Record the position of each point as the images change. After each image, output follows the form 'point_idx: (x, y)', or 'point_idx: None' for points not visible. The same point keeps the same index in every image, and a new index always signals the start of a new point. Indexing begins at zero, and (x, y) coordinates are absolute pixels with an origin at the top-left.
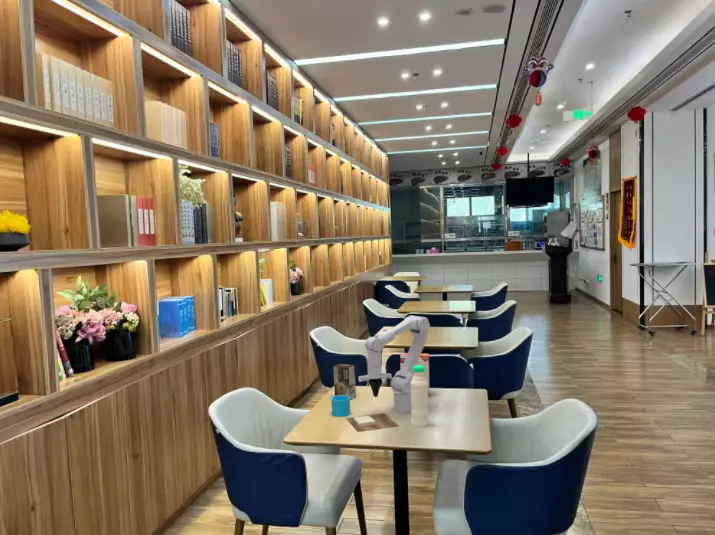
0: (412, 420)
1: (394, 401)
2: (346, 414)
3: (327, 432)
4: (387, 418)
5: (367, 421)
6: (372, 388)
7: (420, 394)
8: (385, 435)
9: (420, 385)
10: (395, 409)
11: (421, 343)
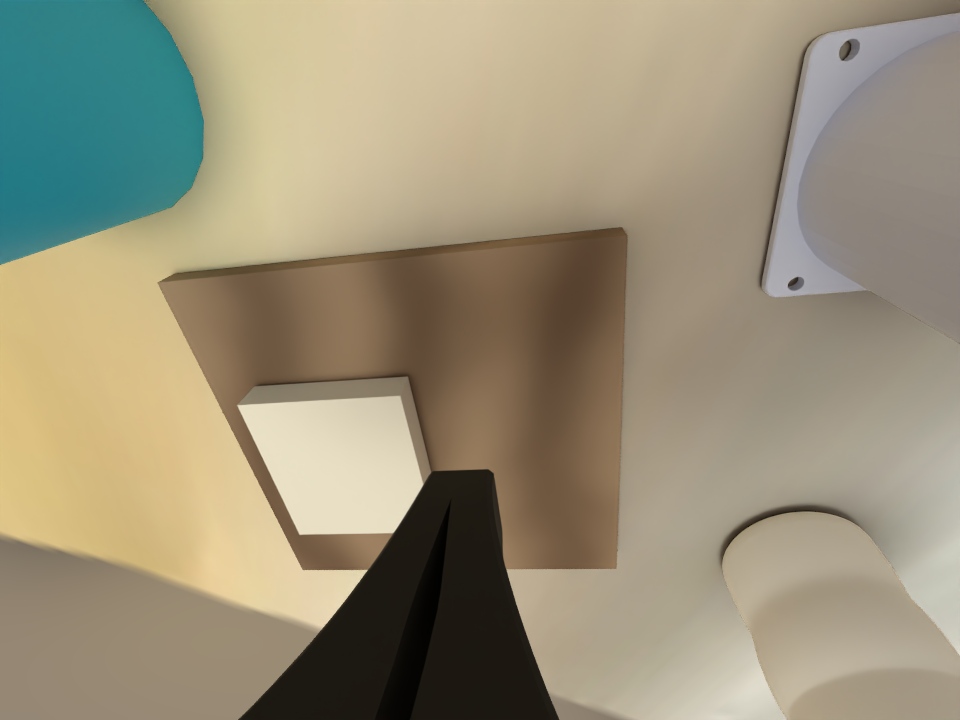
0: (739, 604)
1: (909, 192)
2: (141, 214)
3: (96, 479)
4: (591, 405)
5: (368, 519)
6: (373, 618)
7: None
8: None
9: None
10: (818, 208)
11: None
